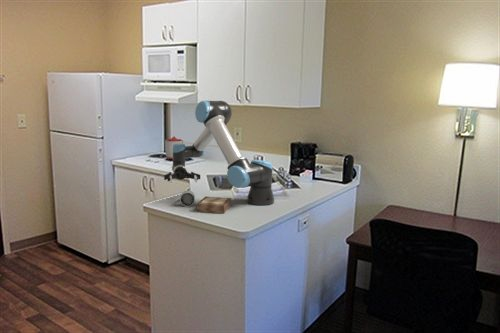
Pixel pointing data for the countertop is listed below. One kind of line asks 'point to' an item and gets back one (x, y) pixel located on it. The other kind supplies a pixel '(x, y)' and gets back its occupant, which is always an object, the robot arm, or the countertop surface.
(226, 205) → the block
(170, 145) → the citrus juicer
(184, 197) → the ceramic mug
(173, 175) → the robot arm
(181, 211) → the countertop surface
